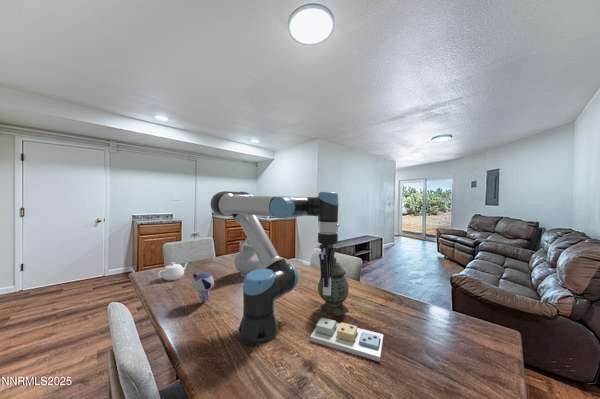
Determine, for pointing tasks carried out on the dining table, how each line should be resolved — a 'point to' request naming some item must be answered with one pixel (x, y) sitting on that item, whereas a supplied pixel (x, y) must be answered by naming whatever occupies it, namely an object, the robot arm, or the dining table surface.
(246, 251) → the ceramic pitcher
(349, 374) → the dining table surface
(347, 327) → the tile two
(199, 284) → the toy
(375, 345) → the tile three
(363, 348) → the panel
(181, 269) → the teapot
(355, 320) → the dining table surface
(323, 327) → the tile one
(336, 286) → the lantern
